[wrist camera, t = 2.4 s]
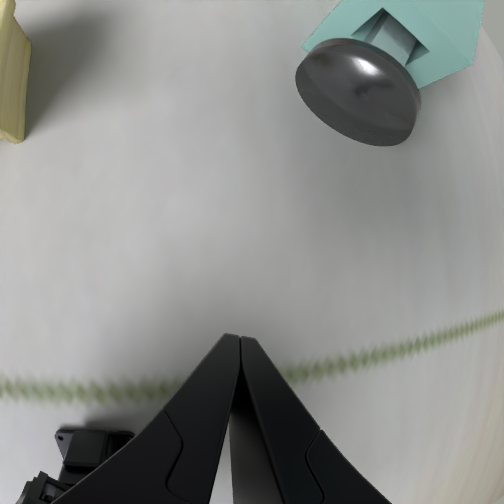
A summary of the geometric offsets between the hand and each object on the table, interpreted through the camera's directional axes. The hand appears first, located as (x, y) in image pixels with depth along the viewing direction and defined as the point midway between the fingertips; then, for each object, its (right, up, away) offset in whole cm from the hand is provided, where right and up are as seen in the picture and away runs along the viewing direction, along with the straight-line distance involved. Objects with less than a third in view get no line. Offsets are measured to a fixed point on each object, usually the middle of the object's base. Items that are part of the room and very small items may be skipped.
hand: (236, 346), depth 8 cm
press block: (+11, +21, +15) cm, 28 cm away
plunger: (+8, +16, +11) cm, 21 cm away
